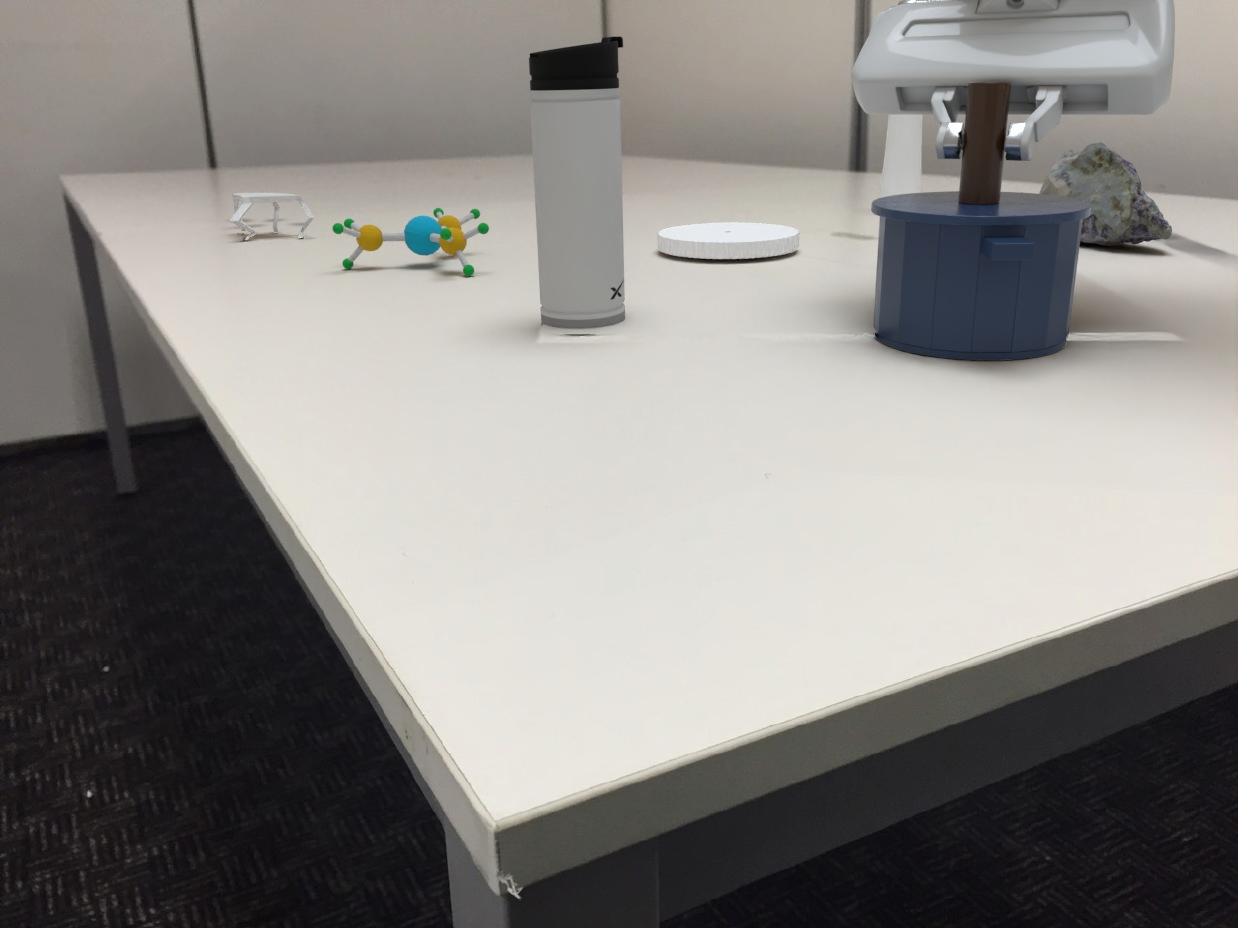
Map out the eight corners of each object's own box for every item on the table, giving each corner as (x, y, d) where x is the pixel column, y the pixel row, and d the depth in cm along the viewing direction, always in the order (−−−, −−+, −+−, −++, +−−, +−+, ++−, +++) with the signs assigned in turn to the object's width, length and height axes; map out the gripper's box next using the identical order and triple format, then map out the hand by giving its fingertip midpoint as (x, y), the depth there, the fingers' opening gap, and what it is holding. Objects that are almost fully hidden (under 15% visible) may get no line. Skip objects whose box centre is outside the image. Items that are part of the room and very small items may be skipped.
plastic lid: (644, 268, 102) (643, 241, 101) (672, 245, 115) (672, 221, 114) (792, 271, 99) (792, 243, 98) (804, 247, 112) (805, 223, 111)
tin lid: (1052, 206, 77) (1067, 78, 74) (1121, 235, 64) (1143, 80, 61) (858, 209, 78) (864, 83, 75) (887, 237, 65) (897, 86, 62)
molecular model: (322, 268, 106) (394, 288, 95) (316, 218, 105) (389, 232, 94) (463, 249, 116) (544, 265, 105) (460, 203, 114) (542, 214, 103)
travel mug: (642, 329, 78) (637, 35, 71) (556, 339, 76) (543, 36, 69) (611, 313, 84) (604, 38, 77) (530, 322, 81) (515, 39, 75)
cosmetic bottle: (934, 213, 134) (948, 24, 126) (898, 218, 131) (910, 24, 124) (899, 209, 139) (911, 26, 131) (864, 213, 136) (874, 26, 128)
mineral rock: (1174, 255, 102) (1192, 146, 99) (1059, 256, 103) (1072, 148, 99) (1124, 235, 114) (1137, 137, 111) (1021, 237, 115) (1031, 139, 112)
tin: (1025, 309, 82) (1038, 195, 79) (1107, 371, 65) (1127, 230, 62) (858, 310, 83) (864, 197, 80) (896, 372, 66) (905, 232, 63)
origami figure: (208, 242, 125) (202, 199, 123) (241, 232, 133) (235, 191, 131) (306, 242, 124) (301, 198, 122) (333, 232, 131) (329, 190, 130)
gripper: (872, -32, 76) (817, 119, 72) (1195, -54, 66) (1154, 119, 62) (888, 36, 81) (837, 181, 77) (1189, 25, 71) (1151, 191, 67)
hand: (981, 154), depth 69 cm, fingers open, 3 cm apart
